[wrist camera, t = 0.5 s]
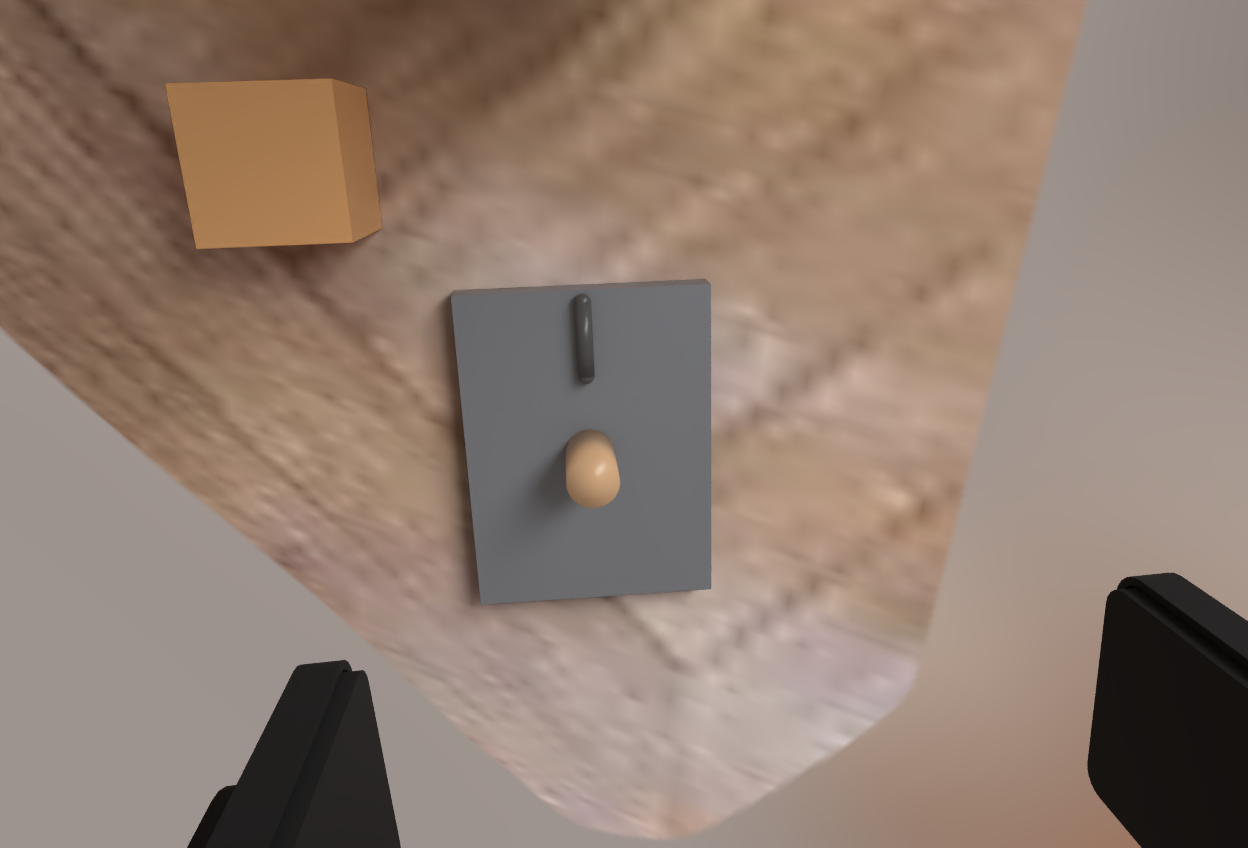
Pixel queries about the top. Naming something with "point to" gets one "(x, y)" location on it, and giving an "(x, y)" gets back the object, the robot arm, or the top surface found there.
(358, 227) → the tan wooden cube
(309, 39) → the top surface
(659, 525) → the plate
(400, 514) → the top surface
